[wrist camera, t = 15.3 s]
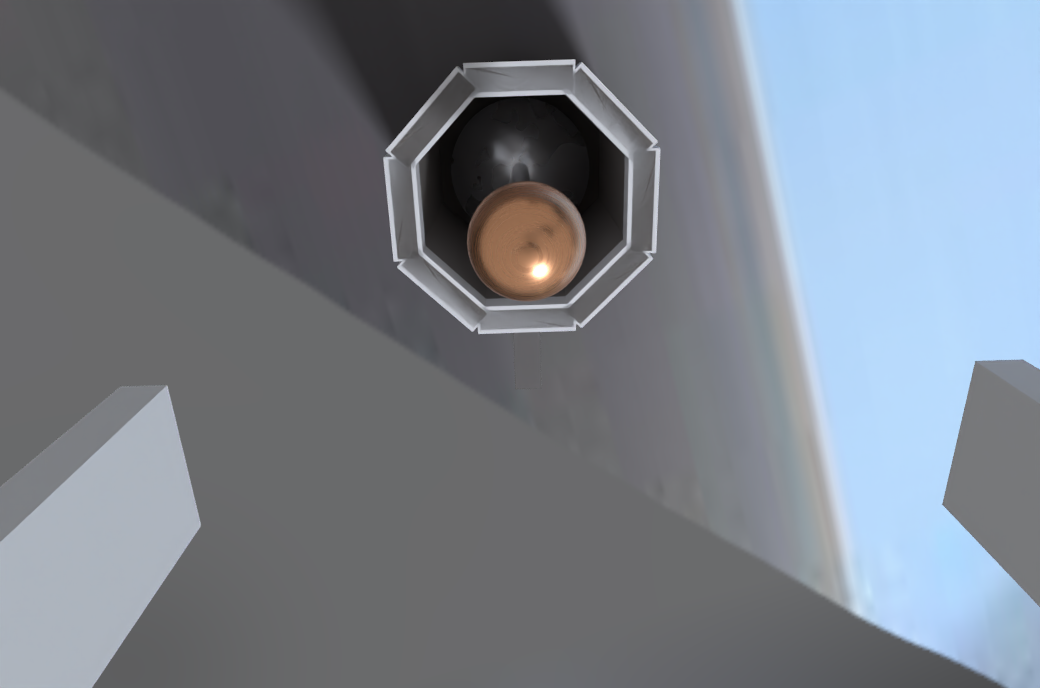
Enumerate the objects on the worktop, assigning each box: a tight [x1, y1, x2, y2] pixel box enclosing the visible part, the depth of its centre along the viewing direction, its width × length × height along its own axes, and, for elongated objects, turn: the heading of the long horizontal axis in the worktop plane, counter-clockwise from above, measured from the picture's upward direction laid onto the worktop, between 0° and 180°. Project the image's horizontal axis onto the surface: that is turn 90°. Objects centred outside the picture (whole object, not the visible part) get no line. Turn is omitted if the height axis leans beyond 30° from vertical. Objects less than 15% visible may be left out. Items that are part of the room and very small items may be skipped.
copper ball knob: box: [451, 97, 589, 301], centre depth 34 cm, size 8×8×21 cm
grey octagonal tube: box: [383, 59, 660, 389], centre depth 40 cm, size 16×12×14 cm
